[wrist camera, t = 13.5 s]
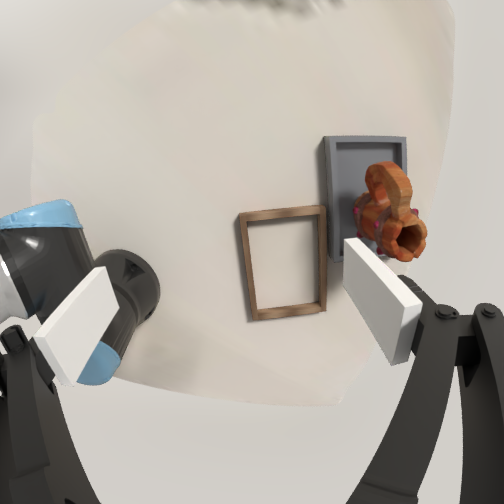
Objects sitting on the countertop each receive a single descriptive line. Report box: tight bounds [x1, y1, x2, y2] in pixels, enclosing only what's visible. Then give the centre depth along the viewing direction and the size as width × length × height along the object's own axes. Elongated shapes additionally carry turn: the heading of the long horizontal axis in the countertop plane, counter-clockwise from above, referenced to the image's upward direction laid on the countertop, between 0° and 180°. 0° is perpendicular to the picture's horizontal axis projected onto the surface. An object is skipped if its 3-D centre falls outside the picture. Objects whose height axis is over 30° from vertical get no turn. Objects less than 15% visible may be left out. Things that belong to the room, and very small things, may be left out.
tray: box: [324, 136, 407, 262], centre depth 45 cm, size 14×21×3 cm, turn 6°
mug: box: [353, 161, 427, 262], centre depth 38 cm, size 15×8×15 cm, turn 18°
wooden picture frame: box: [239, 205, 327, 320], centre depth 50 cm, size 14×20×2 cm
